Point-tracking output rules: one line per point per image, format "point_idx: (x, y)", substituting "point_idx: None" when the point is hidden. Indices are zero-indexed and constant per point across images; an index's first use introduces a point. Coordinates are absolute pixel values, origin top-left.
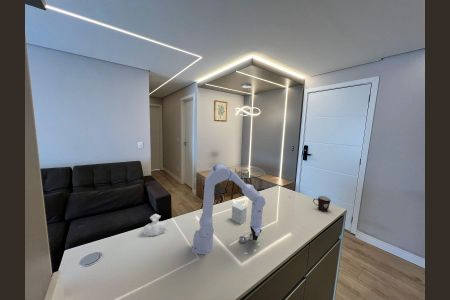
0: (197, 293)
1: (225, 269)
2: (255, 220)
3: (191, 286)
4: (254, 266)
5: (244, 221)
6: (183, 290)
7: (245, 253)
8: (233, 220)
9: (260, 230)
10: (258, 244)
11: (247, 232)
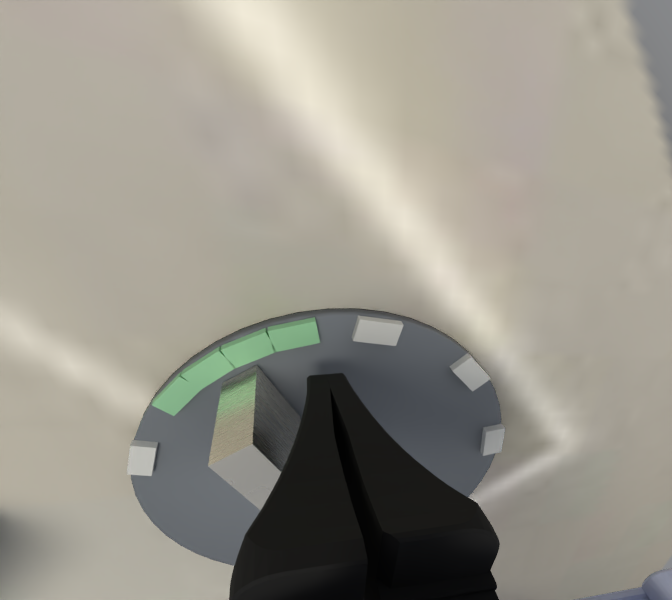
0: (659, 562)
1: (580, 511)
2: None
3: (621, 584)
4: (617, 367)
5: None
6: None
7: (496, 444)
8: None
9: (478, 547)
10: (374, 334)
11: (144, 448)
